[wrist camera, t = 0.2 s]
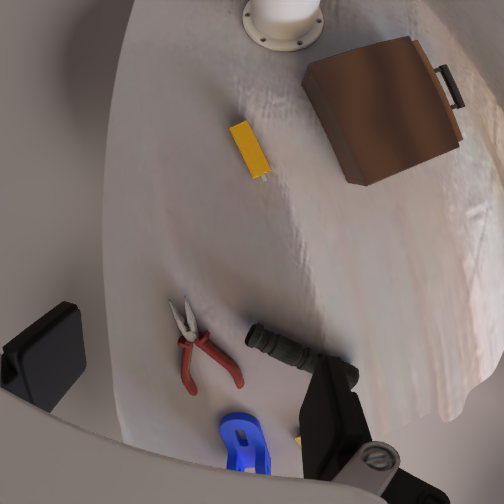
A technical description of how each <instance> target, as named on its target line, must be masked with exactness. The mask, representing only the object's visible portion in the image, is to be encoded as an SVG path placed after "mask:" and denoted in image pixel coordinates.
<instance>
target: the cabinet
mask: <svg viewBox="0 0 504 504" xmlns="http://www.w3.org/2000/svg"><path fill="white" fill-rule="evenodd" d="M301 85H302V87H303V89H304V90H305V92H306V94H307V96H308V98H309V100H310V102H311V104H312V106H313V108H314V110H315V112H316V114H317V116H318V118H319V120H320V122H321V124H322V126H323V128H324V130H325V132H326V135H327V137H328V139H329V141H330V143H331V145H332V148H333V150H334V152H335V154H336V156H337V159H338V161H339V163H340V166H341V168H342V170H343V172H344V175H345V177H346V180H347V182H348V183H352V184H358V185H363V186H369V185H371V184H374V183H376V182H378V181H381V180H383V179H385V178H387V177H390V176H392V175H394V174H397V173H399V172H401V171H404V170H406V169H409V168H411V167H413V166H416V165H418V164H420V163H423V162H425V161H427V160H430V159H432V158H434V157H437V156H439V155H442V154H444V153H446V152H449V151H451V150H453V149H456V148H458V147H460V146H459V143H458V140H457V137H456V134H455V132H454V129H453V126H452V124H451V121H450V119H449V116H448V114H447V111H446V109H445V107H444V104H443V102H442V100H441V97H440V95H439V93H438V91H437V89H436V86H435V84H434V82H433V80H432V78H431V76H430V74H429V72H428V70H427V68H426V66H425V64H424V62H423V60H422V58H421V57H420V55H419V53H418V51H417V49H416V48H415V46H414V44H413V42H412V41H411V39H410V37H409V36H406V37H402V38H397V39H393V40H388V41H384V42H380V43H376V44H372V45H368V46H365V47H361V48H358V49H354V50H351V51H347V52H344V53H341V54H337V55H334V56H331V57H328V58H325V59H322V60H319V61H316V62H313V63H310V64H309V65H308V67H307V70H306V73H305V76H304V78H303V81H302V84H301Z"/></svg>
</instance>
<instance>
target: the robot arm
mask: <svg viewBox="0 0 504 504" xmlns="http://www.w3.org/2000/svg"><path fill="white" fill-rule="evenodd" d="M319 3H320V0H250V1H249V2H248V3H247V4H246V6H245V8H244V11H243V17H242V20H243V25H244V28H245V31H246V32H247V34H248V35H249V36H250V38H251V39H252V40H253V41H255V42H256V43H257V44H259V45H261V46H263V47H265V48H268V49H271V50H275V51H284V52H289V51H296V50H300V49H303V48H305V47H307V46H309V45H311V44H312V43H313V42H315V41H316V39H317V38H318V37H319V35H320V33H321V31H322V28H323V24H324V19H323V14H322V12H321V9H320V8H319ZM247 16H249V17H247ZM317 22H319V23H317ZM262 41H265V42H262ZM298 44H301V45H298ZM3 351H4V353H3V354H2V355H1V354H0V504H450V500H449V498H448V496H446V494H445V493H444V492H442V491H441V490H439V489H438V488H436V487H433V486H432V485H430V484H428V483H426V482H424V481H422V480H420V479H419V478H417V477H415V476H413V475H411V474H409V473H408V472H406V471H404V470H402V469H400V468H399V465H400V456H399V454H398V452H397V451H396V450H395V449H394V448H393V447H392V446H390V445H389V444H386V443H384V442H378V441H372V438H371V435H370V432H369V429H368V425H367V422H366V419H365V416H364V413H363V410H362V407H361V404H360V401H359V398H358V395H357V393H355V392H351V390H350V387H349V383H348V380H347V377H346V374H345V371H344V368H343V365H342V362H341V359H340V357H332V356H324V357H323V359H318V361H317V364H316V367H315V370H314V373H313V376H312V379H311V381H310V384H309V387H308V390H307V393H306V396H305V398H304V401H303V404H302V407H301V409H300V414H299V423H300V435H301V448H302V461H303V474H304V479H302V478H293V477H282V476H272V475H263V474H255V473H248V472H241V471H235V470H228V469H222V468H217V467H211V466H206V465H201V464H197V463H192V462H188V461H183V460H179V459H175V458H171V457H167V456H164V455H160V454H156V453H153V452H149V451H146V450H143V449H139V448H136V447H133V446H130V445H127V444H124V443H121V442H118V441H115V440H112V439H109V438H106V437H104V436H101V435H99V434H96V433H94V432H91V431H89V430H86V429H84V428H81V427H79V426H77V425H74V424H72V423H70V422H67V421H65V420H63V419H61V418H59V417H57V416H54V415H52V414H50V412H51V411H52V410H53V408H54V407H55V406H56V405H57V403H58V402H59V401H60V400H61V398H62V397H63V396H64V395H65V394H66V392H67V391H68V390H69V389H70V387H71V386H72V385H73V384H74V383H75V381H76V380H77V379H78V378H79V377H80V375H81V374H82V373H83V372H84V370H85V368H86V356H85V349H84V341H83V333H82V322H81V312H80V310H79V309H78V307H77V305H76V304H72V303H69V302H66V301H63V302H61V303H60V304H59V305H57V306H56V307H54V308H53V309H52V310H50V311H49V312H48V313H46V314H45V315H44V316H42V317H41V318H40V319H38V320H37V321H36V322H34V323H33V324H32V325H30V326H29V327H28V328H26V329H25V330H24V331H22V332H21V333H20V334H19V335H17V336H16V337H15V338H13V339H12V340H11V341H10V342H9V343H7V344H6V345H5V346H3Z"/></svg>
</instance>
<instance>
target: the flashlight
mask: <svg viewBox="0 0 504 504" xmlns="http://www.w3.org/2000/svg"><path fill="white" fill-rule="evenodd" d="M245 344H246V345H247V346H248V347H251V348H253V347H255V348H257V349H259V350H260V351H261V352H263V353H268V355H269V356H271V357H273V358H275V359H278V360H279V361H281V362H284V363H286V364H288V365H290V366H296V367H297V368H298V369H300V370H305V371H307V372H309V373H312V374H313V373H314V370H315V367H316V364H317V361H318V359H323V357H324V356H323V355H322V354H320V353H319V354H317V353H315V352H313V351H312V350H311V349H309V348H304V347H303V346H302V345H301V344H299V343H296V342H294V341H292V340H290V339H288V338H286V337H284V336H282V335H280V334H278V335H277V334H275V333H274V332H271V331H269V330H266V329H264V326H263V325H262V324H260V323H257V324H254V325H252V327H251V328H250V330H249V332H248V334H247V336H246V339H245ZM341 362H342V365H343V368H344V371H345V374H346V377H347V380H348V383H349V387H350V390H351V389H352V388H353V387H354V386H355V385H356V384H357V382H358V379H359V370H358V368H356V367H355V366H353V365H351V364H349V363H346V362H344V361H342V360H341Z"/></svg>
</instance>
